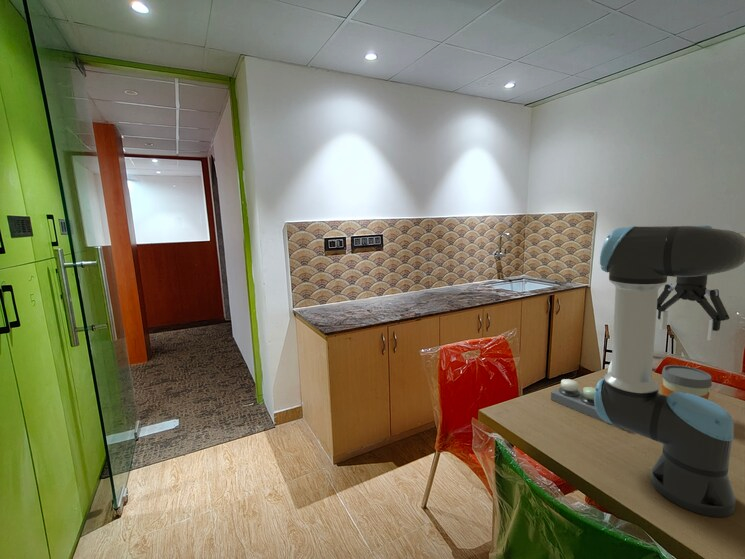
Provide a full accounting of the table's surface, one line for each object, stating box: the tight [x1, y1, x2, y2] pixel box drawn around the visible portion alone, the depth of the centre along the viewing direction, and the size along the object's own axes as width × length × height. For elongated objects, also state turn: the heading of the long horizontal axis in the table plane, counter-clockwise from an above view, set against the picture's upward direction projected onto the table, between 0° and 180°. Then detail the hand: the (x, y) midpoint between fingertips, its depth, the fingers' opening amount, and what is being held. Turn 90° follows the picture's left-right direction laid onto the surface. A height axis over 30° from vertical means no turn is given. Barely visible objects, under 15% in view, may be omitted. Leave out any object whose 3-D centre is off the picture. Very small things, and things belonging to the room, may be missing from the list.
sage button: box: [582, 386, 596, 400], centre depth 123 cm, size 6×6×2 cm
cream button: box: [560, 378, 579, 391], centre depth 130 cm, size 6×6×2 cm
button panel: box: [550, 386, 624, 430], centre depth 123 cm, size 10×24×4 cm, turn 32°
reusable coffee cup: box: [661, 364, 713, 400], centre depth 118 cm, size 13×13×15 cm
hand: (685, 334), depth 119 cm, fingers open, 13 cm apart
